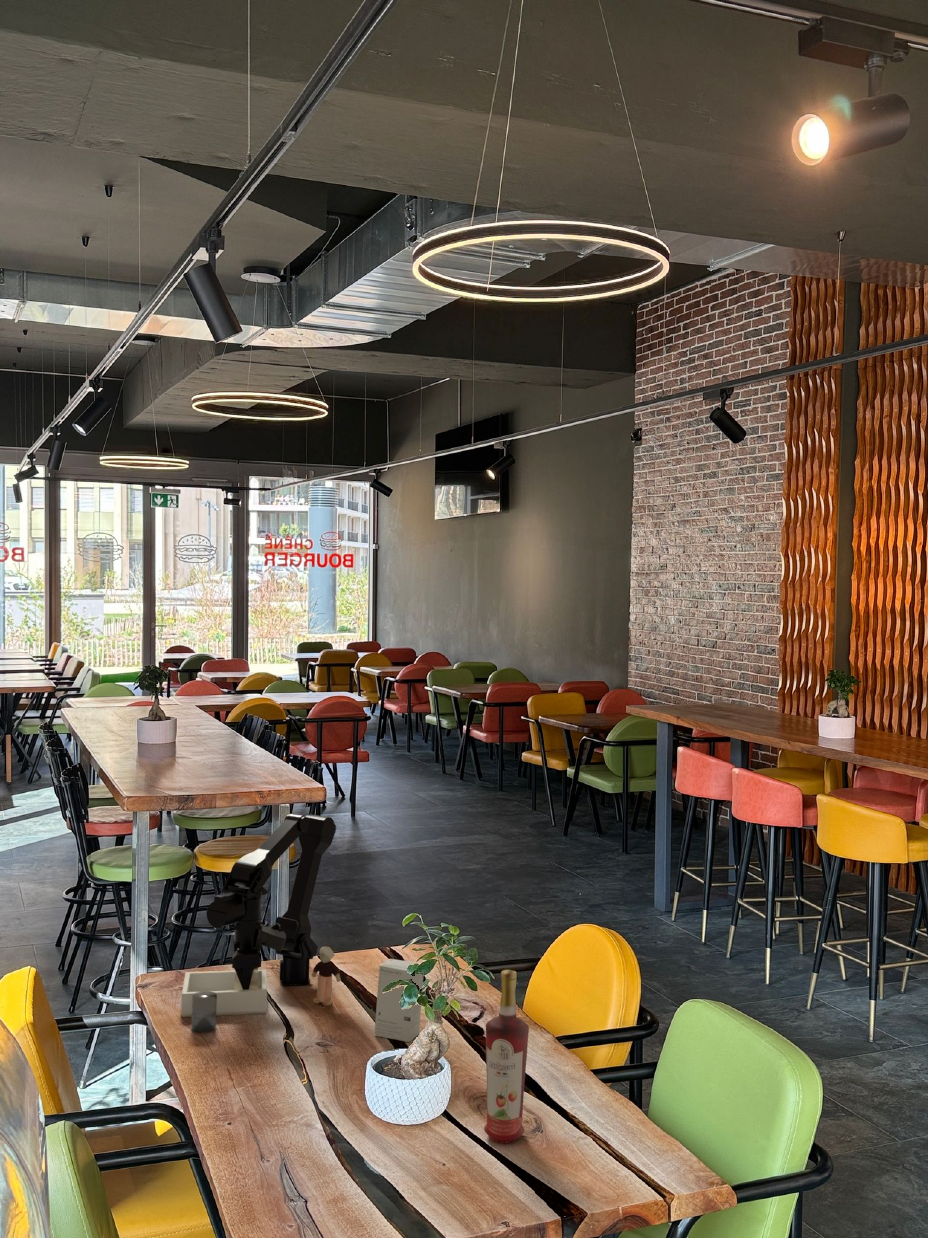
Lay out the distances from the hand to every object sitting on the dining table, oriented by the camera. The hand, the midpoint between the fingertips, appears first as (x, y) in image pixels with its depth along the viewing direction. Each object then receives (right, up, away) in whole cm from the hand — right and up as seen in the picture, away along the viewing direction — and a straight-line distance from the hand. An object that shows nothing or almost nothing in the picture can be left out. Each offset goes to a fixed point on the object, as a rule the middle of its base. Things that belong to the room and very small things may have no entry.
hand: (246, 987), depth 243 cm
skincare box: (+35, -5, -16) cm, 39 cm away
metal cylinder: (-6, -4, -15) cm, 17 cm away
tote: (-5, -3, -1) cm, 6 cm away
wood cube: (0, -1, 0) cm, 1 cm away
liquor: (+55, -6, -59) cm, 81 cm away
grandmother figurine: (+17, -4, +1) cm, 18 cm away
